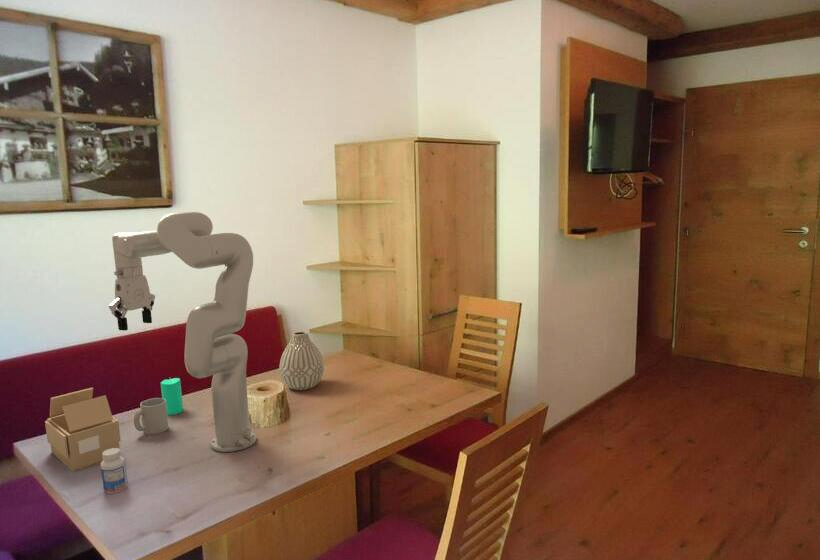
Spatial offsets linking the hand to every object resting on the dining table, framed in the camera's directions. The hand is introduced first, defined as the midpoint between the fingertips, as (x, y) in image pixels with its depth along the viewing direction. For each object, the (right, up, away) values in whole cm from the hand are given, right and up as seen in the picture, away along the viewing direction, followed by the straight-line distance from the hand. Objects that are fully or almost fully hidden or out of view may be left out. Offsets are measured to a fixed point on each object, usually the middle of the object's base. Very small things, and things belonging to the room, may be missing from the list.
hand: (135, 326), depth 190 cm
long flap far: (-11, -24, -16) cm, 31 cm away
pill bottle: (+14, -37, -41) cm, 57 cm away
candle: (+8, -29, +10) cm, 32 cm away
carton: (-5, -34, -21) cm, 40 cm away
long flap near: (+1, -25, -28) cm, 38 cm away
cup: (+8, -32, -6) cm, 33 cm away
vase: (+47, -24, +30) cm, 61 cm away
